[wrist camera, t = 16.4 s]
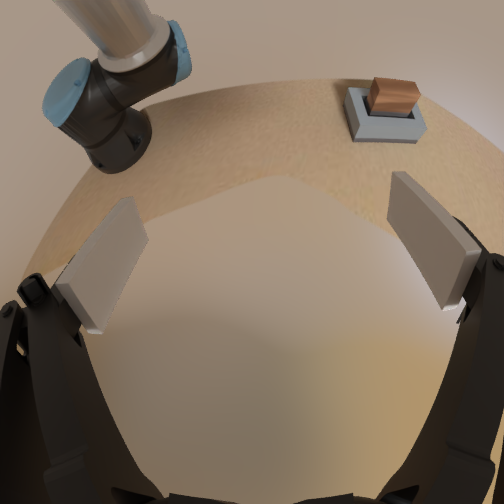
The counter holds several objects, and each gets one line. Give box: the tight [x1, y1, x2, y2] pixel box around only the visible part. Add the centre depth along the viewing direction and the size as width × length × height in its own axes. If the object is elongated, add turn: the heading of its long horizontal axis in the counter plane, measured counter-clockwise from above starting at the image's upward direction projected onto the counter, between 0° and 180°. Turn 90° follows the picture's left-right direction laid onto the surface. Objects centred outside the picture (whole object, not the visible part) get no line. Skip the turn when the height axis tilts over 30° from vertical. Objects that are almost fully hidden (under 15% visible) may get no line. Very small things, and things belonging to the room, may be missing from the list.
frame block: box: [343, 87, 427, 144], centre depth 44 cm, size 9×14×6 cm, turn 94°
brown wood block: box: [364, 77, 421, 118], centre depth 40 cm, size 3×8×11 cm, turn 94°
